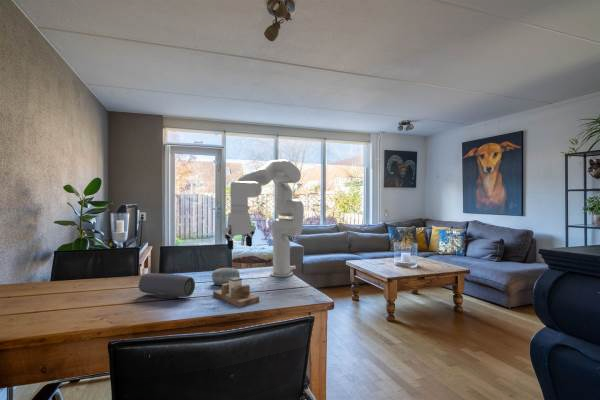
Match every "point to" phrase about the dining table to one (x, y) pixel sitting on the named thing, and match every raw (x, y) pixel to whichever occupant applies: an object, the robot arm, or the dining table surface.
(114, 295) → the dining table surface
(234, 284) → the white rectangular block
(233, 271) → the grey yarn ball
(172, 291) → the bluetooth speaker
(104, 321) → the dining table surface
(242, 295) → the notched board
